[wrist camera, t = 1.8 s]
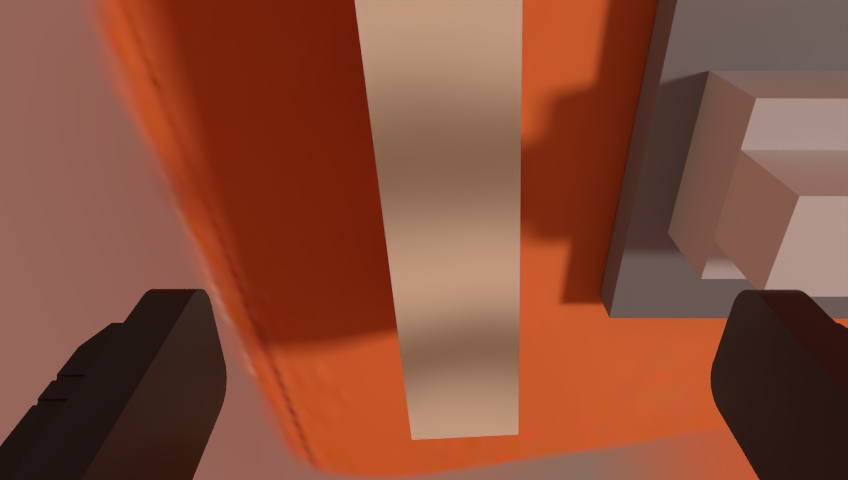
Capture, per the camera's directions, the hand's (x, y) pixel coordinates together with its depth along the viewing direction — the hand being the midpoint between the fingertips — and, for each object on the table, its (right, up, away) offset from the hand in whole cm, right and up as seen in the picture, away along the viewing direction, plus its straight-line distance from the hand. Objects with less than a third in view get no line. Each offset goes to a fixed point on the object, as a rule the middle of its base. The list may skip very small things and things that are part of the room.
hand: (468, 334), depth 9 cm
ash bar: (0, +7, +11) cm, 13 cm away
